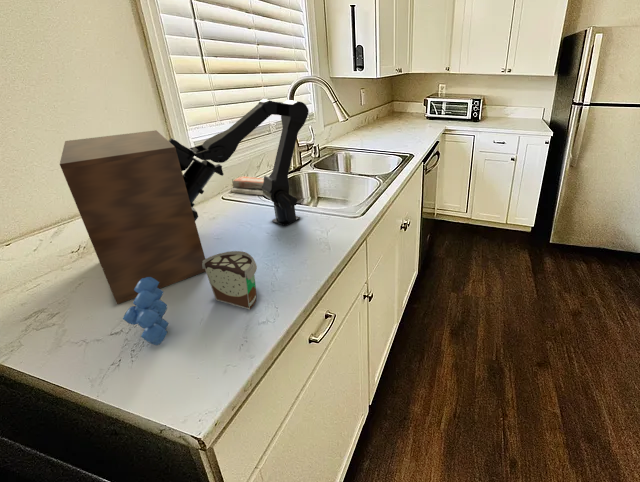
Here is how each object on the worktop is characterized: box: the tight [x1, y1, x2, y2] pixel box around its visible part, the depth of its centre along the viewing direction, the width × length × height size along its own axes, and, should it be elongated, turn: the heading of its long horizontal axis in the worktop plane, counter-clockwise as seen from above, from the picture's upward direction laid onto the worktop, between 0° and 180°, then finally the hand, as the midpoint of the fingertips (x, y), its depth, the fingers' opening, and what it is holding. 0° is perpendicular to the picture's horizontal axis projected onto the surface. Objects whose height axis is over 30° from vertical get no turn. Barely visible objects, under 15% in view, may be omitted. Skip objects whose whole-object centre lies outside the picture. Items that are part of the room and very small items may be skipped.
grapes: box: [122, 277, 170, 346], centre depth 60 cm, size 12×7×12 cm, turn 31°
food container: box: [202, 250, 258, 311], centre depth 71 cm, size 12×6×10 cm, turn 71°
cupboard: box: [59, 129, 206, 305], centre depth 80 cm, size 18×26×32 cm
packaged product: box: [229, 175, 265, 196], centre depth 133 cm, size 18×5×10 cm
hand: (156, 231), depth 83 cm, fingers closed on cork, 5 cm apart
